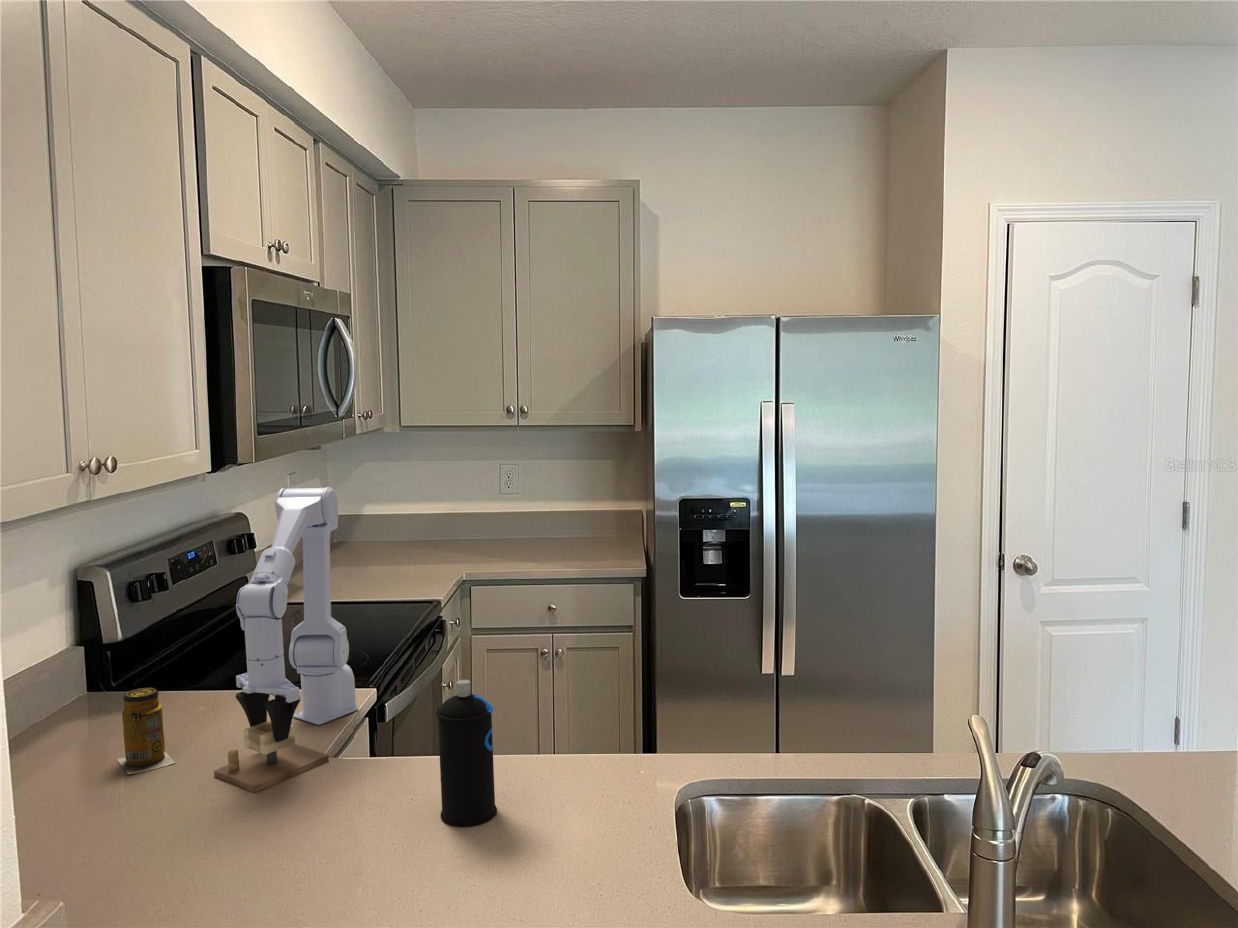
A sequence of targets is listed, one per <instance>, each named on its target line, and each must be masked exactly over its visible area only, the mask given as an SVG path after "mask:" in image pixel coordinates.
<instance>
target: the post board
mask: <svg viewBox="0 0 1238 928" xmlns="http://www.w3.org/2000/svg"><path fill="white" fill-rule="evenodd" d="M239 756H240V755H239V749H231V750H229V751H227V763H228V764H227V765H225V766H222V767H219V768H217V769H214V770H213V772H214V778H217V779H221V781H224V782H227V783H230V784H232V785H234V786H237V787H240V788H243V789H244V790H247V791H249V792H252V793H254V794H255V793H258V792H260V791H261V790H262V791H263V790H264V789H267V788H269V787H271V786H274V785H276V784H277V783H280V782H282V781H286V780H287V779H290V778H292V777H295V776H297V775H299V774H302V773H303V772H306V771H308V770H310V769H312V768H315V767H316V768H317V766H320V765H322V764H324V763H327V762H329V761H330V760H329V758H330V757H329V755H328V754H326V753H324V752H320V751H318V750H315V749H312V748H308V747H306V746H303V745H300V744H297V743H295V744H292V745H289V746H287V747H284V748H282V749H279V750H276V751H274V752H271V753H269V754H266V755H265V754H262V753H259V752H257V753H255V754H252V755H250V756H247V757H245V758H242V759H240V758H239Z"/></svg>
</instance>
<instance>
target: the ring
mask: <svg viewBox="0 0 1238 928" xmlns="http://www.w3.org/2000/svg"><path fill="white" fill-rule="evenodd" d="M295 730H296V729H295V725H293V724H291V727H290V732H289V737H288V739H285V740H282V741H280V742H276V741H275V739H274V736H273V730H272V724H271V720H270V719H269V720H267V722H264V723H261V724H258V725H255V726H252V727H250V726H249V727H247V728H244V729H243V735H244V738H243V739H244V748H246V749H248V750H251V751H254V752H257V753H262V754H265V755H266V754H269V753H271V752H274V751H276V750H279V749H282V748H284V747H287V746H289V745H292V744H296V735H295V733H296V731H295Z"/></svg>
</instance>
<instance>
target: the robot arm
mask: <svg viewBox="0 0 1238 928" xmlns="http://www.w3.org/2000/svg"><path fill="white" fill-rule="evenodd" d="M274 507H275V509H274V510H275V513H276V518H277V521H278V522H277V526H276V530H275V532H274V537H273V539H272V544H271V547H269V548H266V549H265V550H263V551H262V552H261V555H260V556H259V559H258V561H257V565H256V566H255V569H254V571H253V572H252V573H253V574H252V576H251V578H250V581H249V583H246V584H245V585H244V586H242V587H240V589H239V591H238V592H237V595H236V604H235V608H236V609H235V610H236V614H237V616H238V618H239V620H240V628H241V630H242V631H244V639H245V640H244V641H245V655H246V656H245V657H246V668H247V669H246V671H247V672H244V673H241V674H238V675H236V676H235V682H236V687H237V688H240V689H241V688H242V691H240V692H237V693H236V694H235V699H236V700H237V701H238V703H239V704H240V706H241V708H242V710H243V711H244V714H245V716H246V719H247V721H248V724H249V728H250V727H252V726H255V725H258V724H261V723H264V722H267V721H268V715H269V720H271V724H272V730H273V736H274V739H275V741H276V742H280V741H282V740H285V739H288V737H289V732H290V727H291V725H292V721H293V718H294V719H295V718H296V719H299V720H302V721H305V722H307V723H311V724H315V725H322V724H324V723H328V722H330V721H333V720H335V719H338V718H341V717H343V716H346V715H348V714H350V713H354V712H356V711H358V710H359V709H360V708H359V706H357V700H356V699H357V697H356V685H355V684H356V683H355V680H356V679H355V676H354V673H353V670H352V668H351V666H350V665H348V664H347V662H348V660H349V655H350V654H349V652H350V644H349V639H348V637H347V634H348V633H347V627H346V626H344V625H343V624H342V623H341V622H339V621H337V620H336V619H335V618H333V617H332V601H331V600H332V599H331V598H332V597H331V594H332V593H331V589H332V588H331V532H332V531H335V530H336V529H338V527H339V525H338V524H339V500H338V496H337V495H336V491H335V490H334V489H333V488H332V487H331V486H326V487H312V488H311V487H310V488H309V487H308V488H304V487H302V488H301V487H300V488H299V487H298V488H287V487H282V488H280V490H278V492H277V494H276V496H275V501H274ZM301 537H302V559H303V560H302V564H303V569H302V570H303V573H302V574H303V621H301V622H300V623H299V624H297V625H296V626H295V627H294V628H293V629H292V631H291V632H290V633H291V634H290V643H289V649H288V659H289V664H290V665H291V666H292V668H293V669H296V673H297V674H300V686H301V689H300V687H299V686H296V685H294V684H293V683H292V682H291V681H290V680H289V679H288V678H286V667H285V656H284V654H285V653H284V652H285V651H284V637H283V622H282V621H283V620H282V617H283V616H284V615H285V612H286V611H287V606H288V594H289V588H288V584H289V581H290V579H291V576H292V574H293V570H294V568H295V566H296V559H295V557H294V555H293V554H294V553H293V552H294V551H295V549H296V548H297V545H298V543H299V541H300V539H301ZM300 690H301V693H300ZM300 694H301V695H300ZM270 696H272V697H273V696H274V698H272V699H270ZM269 699H270V700H269ZM300 702H301V703H302V710H301V711H299V712H296V710H297V708H298V705H299V704H300Z"/></svg>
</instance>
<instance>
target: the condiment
mask: <svg viewBox="0 0 1238 928" xmlns="http://www.w3.org/2000/svg"><path fill="white" fill-rule="evenodd" d="M123 708H124V709H123V710H122V713H121V716H122V731H123V743H124V744H123V745H124V754H125V755H124V756H125V757H121V758H117V759H116V761H117V762H118V763H119V765H120V766H121V767H122V769H123V770H124V772H126V774H127V775H132V774H134V775H136V774H138V773H143V772H147V771H151V770H154V769H155V770H157V769H159V768H163V767H166V766H169V765H173V764H176V762H175V760H174V758H172V756H170V755H169V753H167V751H166V750H165V749H166V744H165V742H166V741H165V733H164V720H163V718H164V717H163V707H162V704H160V698H159V691H158V689H156V688H153V687H143V688H137V689H132V690H129V691H128V692H127V693H125V694H124V695H123Z"/></svg>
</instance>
